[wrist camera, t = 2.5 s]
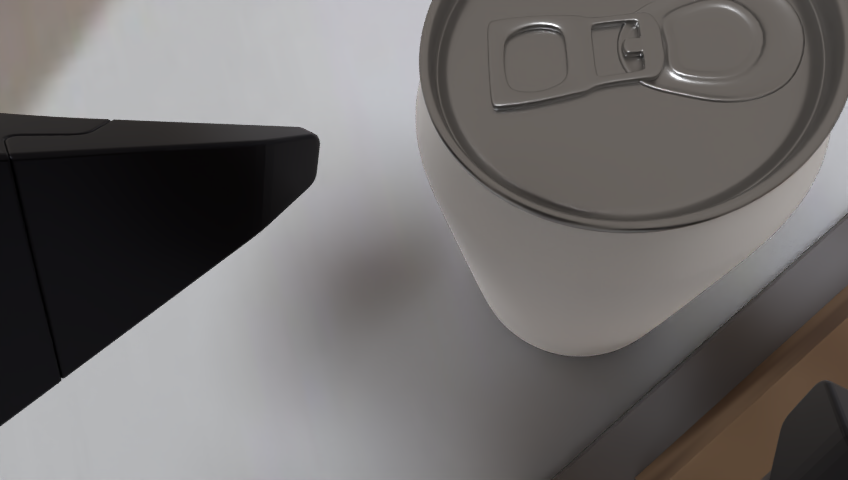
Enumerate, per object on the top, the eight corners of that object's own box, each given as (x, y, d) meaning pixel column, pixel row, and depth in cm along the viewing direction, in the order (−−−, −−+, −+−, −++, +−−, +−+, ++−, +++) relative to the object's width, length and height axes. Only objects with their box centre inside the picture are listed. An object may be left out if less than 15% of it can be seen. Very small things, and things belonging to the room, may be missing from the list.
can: (689, 356, 17) (973, 247, 6) (481, 361, 18) (385, 280, 7) (661, 165, 19) (833, -190, 8) (474, 181, 20) (391, -105, 9)
